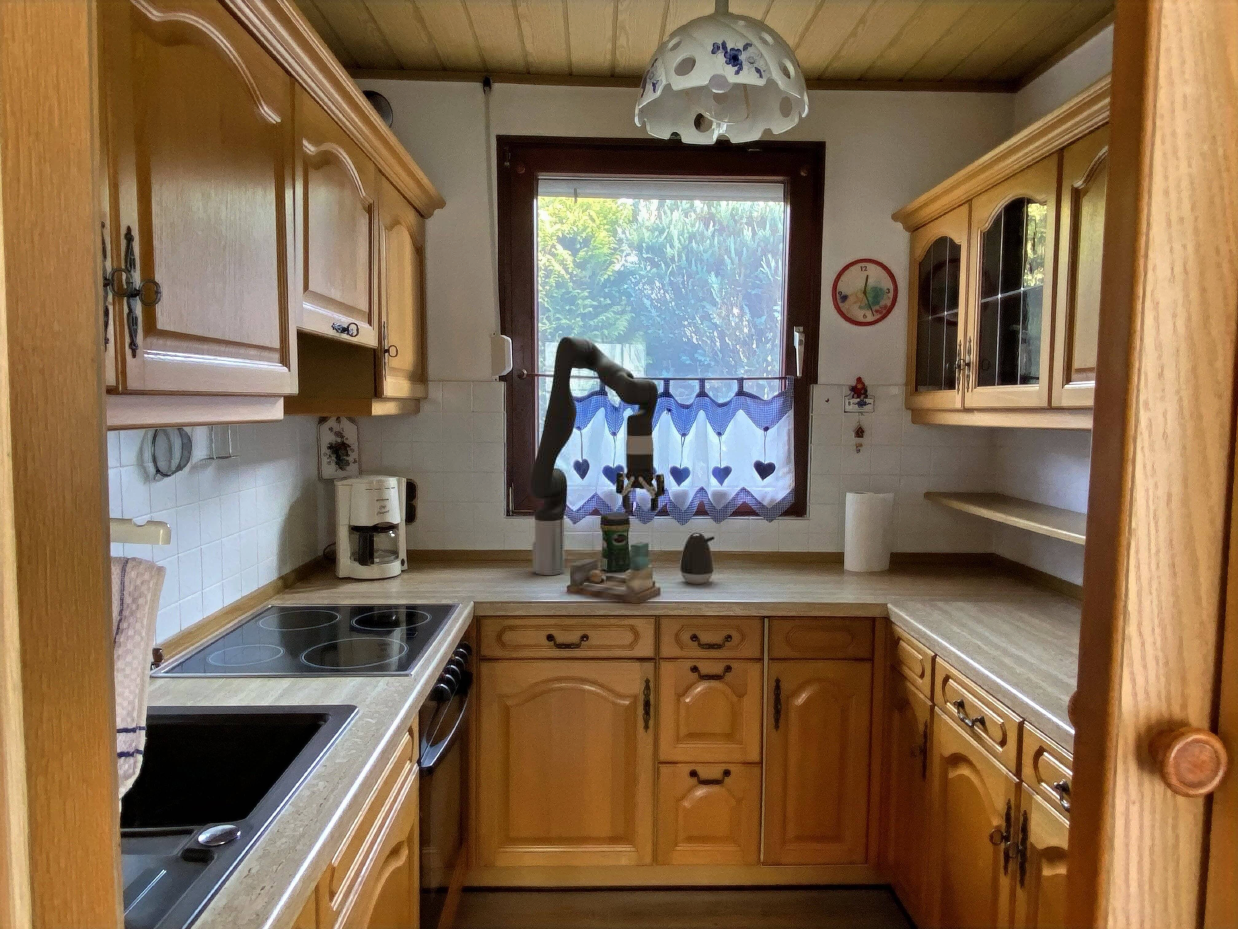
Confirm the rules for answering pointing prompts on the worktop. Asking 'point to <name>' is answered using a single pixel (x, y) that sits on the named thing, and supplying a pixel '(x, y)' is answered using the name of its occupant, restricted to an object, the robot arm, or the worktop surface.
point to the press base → (605, 584)
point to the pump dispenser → (697, 559)
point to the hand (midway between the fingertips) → (640, 510)
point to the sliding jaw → (639, 568)
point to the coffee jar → (615, 542)
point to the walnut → (595, 576)
